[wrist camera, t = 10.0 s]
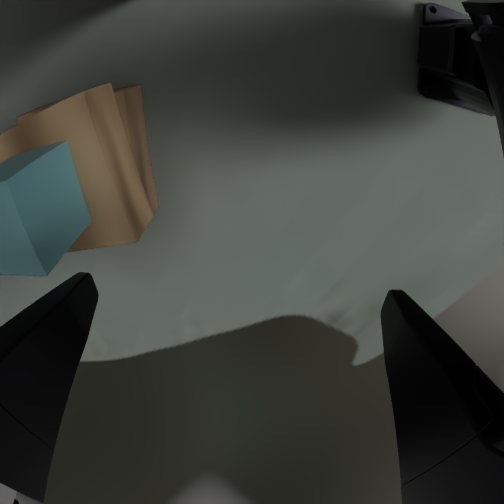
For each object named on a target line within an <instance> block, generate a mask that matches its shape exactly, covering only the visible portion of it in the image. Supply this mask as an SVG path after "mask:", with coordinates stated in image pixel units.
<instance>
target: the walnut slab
mask: <svg viewBox="0 0 504 504" xmlns="http://www.w3.org/2000/svg"><path fill="white" fill-rule="evenodd" d="M113 92H114V96H115V99H116V103H117V106H118V110H119V113H120V117H121V120H122V123H123V127H124V130H125V133H126V136H127V140H128V143H129V146H130V149H131V152H132V155H133V158H134V161H135V164H136V167H137V170H138V173H139V176H140V179H141V182H142V185H143V188H144V191H145V194H146V196H147V199H148V202H149V205H150V208H151V210H152V213H153V215H154V214H155V212H156V210H157V209H158V202H157V196H156V190H155V184H154V178H153V172H152V166H151V160H150V153H149V146H148V139H147V132H146V124H145V116H144V108H143V99H142V90H141V85H135V86H129V87H123V88H118V89H113ZM60 102H61V101H60ZM57 103H59V102H56V103H53V104H49V105H46V106H42V107H39V108H36V109H34V110H32V111H30V112H27V113H25V114H23V115H21V116H18V117H17V122H18V124H19V123H21V122H23V121H24V120H26V119H28V118H30V117H32V116H33V115H35V114H37V113H39V112H41V111H43V110H45V109H47V108H49V107H51V106H53V105H55V104H57Z"/></svg>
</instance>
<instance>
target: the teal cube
mask: <svg viewBox="0 0 504 504" xmlns="http://www.w3.org/2000/svg"><path fill="white" fill-rule="evenodd" d="M91 222H92V220H91V217H90V214H89V212H88V209H87V206H86V203H85V199H84V196H83V193H82V190H81V187H80V184H79V180H78V177H77V174H76V170H75V167H74V163H73V159H72V156H71V152H70V148H69V144H68V141H67V140H66V141H62V142H59V143H55V144H51V145H48V146H44V147H41V148H38V149H34V150H31V151H28V152H25V153H22V154H18V155H15V156H12V157H10V158H8V159H7V160H5V161H4V162H2V163H1V164H0V274H1V275H24V276H48V274H49V273H50V272H51V270H52V269H53V268H54V266H55V265H56V264H57V263H58V261H59V260H60V259H61V258H62V256H63V255H64V254H65V253H66V251H67V250H68V249H69V248H70V246H71V245H72V244H73V243H74V242H75V240H76V239H77V238H78V237H79V236H80V234H81V233H82V232H83V231H84V230H85V228H86V227H87V226H88V225H89V224H90V223H91Z"/></svg>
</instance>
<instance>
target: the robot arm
mask: <svg viewBox="0 0 504 504" xmlns="http://www.w3.org/2000/svg"><path fill="white" fill-rule="evenodd" d="M462 4H463V6H464V9H465V11H466V12H468V14H469V16H470V17H469V16H467V15H464V14H462V13H459V12H457V11H454V10H452V9H449V8H446V7H444V6H441V5H438V4H435V3H426V4H425V5H424V7H423V26H422V27H420V31H419V47H418V60H417V63H418V65H419V67H420V70H419V80H418V92H419V93H420V95H422V96H424V97H427V98H431V99H435V100H439V101H443V102H447V103H450V104H454V105H457V106H461V107H464V108H468V109H471V110H474V111H477V112H480V113H483V114H486V115H489V116H496V120H497V124H498V129H499V134H500V139H501V144H502V150H503V156H504V0H468V1H464V2H462ZM430 7H432V8H433V10H434V12H433V13H431V11H430V9H429V8H430ZM425 86H427V87H428V91H427V92H426V93H425V92H424V87H425ZM97 302H98V291H97V288H96V285H95V283H94V280H93V277H92V275H91V274H90V273H85V272H79V273H77V274H75V275H74V276H72V277H71V278H69V279H68V280H66V281H65V282H63V283H62V284H60V285H59V286H57V287H56V288H54V289H53V290H51V291H50V292H48V293H47V294H45V295H44V296H43V297H41V298H40V299H38V300H37V301H35V302H34V303H33V304H31V305H30V306H28V307H27V308H26V309H24V310H23V311H21V312H20V313H19V314H17V315H16V316H14V317H13V318H12V319H10V320H9V321H8V322H6V323H5V324H4V325H2V326H1V327H0V504H19V502H18V501H17V500H16V499H15V495H16V492H19V493H21V494H23V495H25V496H28V497H30V498H32V499H35V500H37V501H39V502H41V503H43V502H44V499H45V493H46V487H47V482H48V477H49V472H50V467H51V462H52V458H53V454H54V448H55V444H56V440H57V436H58V432H59V428H60V425H61V421H62V417H63V414H64V409H65V406H66V403H67V400H68V396H69V393H70V389H71V387H72V383H73V380H74V377H75V374H76V371H77V368H78V365H79V362H80V359H81V356H82V353H83V350H84V348H85V345H86V342H87V339H88V335H89V331H90V327H91V324H92V320H93V316H94V312H95V309H96V305H97ZM381 325H382V336H383V348H384V359H385V366H386V372H387V377H388V383H389V389H390V395H391V402H392V408H393V415H394V422H395V430H396V438H397V446H398V456H399V466H400V478H401V485H402V486H401V494H402V504H504V393H503V392H502V391H501V390H500V389H499V388H498V387H497V386H496V385H495V384H494V383H493V381H492V380H491V379H490V378H489V377H488V376H487V375H486V374H485V373H484V372H483V371H482V370H481V369H480V368H479V366H476V363H475V362H474V361H473V360H472V359H471V358H470V357H469V356H468V355H467V354H466V353H465V352H464V351H463V350H462V348H460V346H459V345H458V344H457V343H456V342H455V341H454V340H453V339H452V338H451V337H450V336H449V335H448V334H447V333H446V332H445V331H444V330H443V329H442V328H441V327H440V326H439V325H438V324H437V323H436V322H435V321H434V320H433V319H432V318H431V317H430V316H429V315H428V314H427V313H426V312H425V311H424V310H423V309H422V308H421V307H420V306H419V305H418V304H417V303H416V302H415V301H414V300H413V299H412V298H411V297H409V296H408V295H407V294H406V293H405V292H404V291H403V290H389V291H388V293H387V296H386V298H385V301H384V304H383V306H382V309H381Z"/></svg>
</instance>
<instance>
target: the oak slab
mask: <svg viewBox="0 0 504 504" xmlns="http://www.w3.org/2000/svg"><path fill="white" fill-rule="evenodd" d="M66 140H67V141H68V144H69V148H70V152H71V156H72V159H73V163H74V167H75V170H76V174H77V177H78V180H79V184H80V187H81V190H82V193H83V196H84V199H85V203H86V206H87V209H88V212H89V214H90V217H91V220H92V222H91V223H90V224H89V225H88V226H87V227H86V228H85V230H84V231H83V232H82V233H81V234H80V236H79V237H78V238H77V239H76V240H75V242H74V243H73V244H72V245H71V246H70V248H69V249H68V250H67V251H66V252H73V251H80V250H87V249H93V248H100V247H108V246H115V245H122V244H129V243H136V242H138V240H139V238H140V237H141V235H142V233H143V232H144V230H145V229H146V227H147V226H148V224H149V222H150V221H151V219H152V218H153V213H152V210H151V208H150V205H149V202H148V199H147V196H146V194H145V191H144V188H143V185H142V182H141V179H140V176H139V173H138V170H137V167H136V164H135V161H134V158H133V155H132V152H131V149H130V146H129V143H128V140H127V136H126V133H125V130H124V127H123V123H122V120H121V117H120V113H119V110H118V106H117V103H116V99H115V96H114V92H113V88H112V85H111V82H110V83H107V84H103V85H100V86H97V87H94V88H91V89H88V90H85V91H82V92H80V93H78V94H76V95H74V96H71V97H69V98H67V99H65V100H63V101H61V102H59V103H57V104H55V105H53V106H51V107H49V108H47V109H45V110H43V111H41V112H39V113H37V114H35V115H33V116H32V117H30V118H28V119H26V120H24V121H23V122H21V123H19V124H17V125H16V126H14V127H12V128H11V129H9V130H7V131H6V132H4V133H2V134H1V135H0V164H1V163H2V162H4V161H5V160H7V159H8V158H10V157H12V156H15V155H18V154H22V153H25V152H28V151H31V150H34V149H38V148H41V147H44V146H48V145H51V144H55V143H59V142H62V141H66Z"/></svg>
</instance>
